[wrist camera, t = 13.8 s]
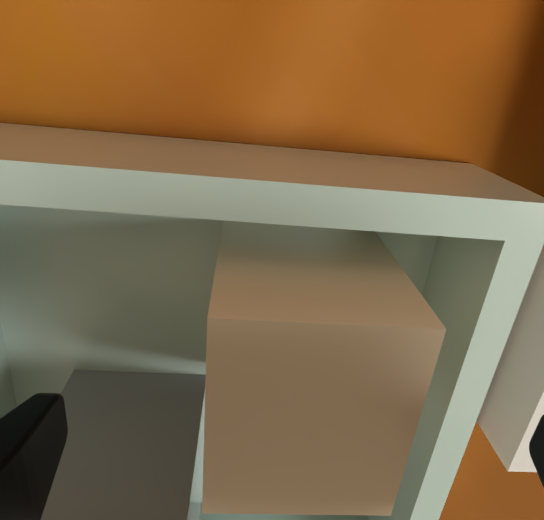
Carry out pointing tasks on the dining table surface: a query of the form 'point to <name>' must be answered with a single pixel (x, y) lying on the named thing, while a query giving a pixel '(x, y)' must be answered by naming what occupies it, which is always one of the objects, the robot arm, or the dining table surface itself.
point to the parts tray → (518, 382)
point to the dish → (203, 255)
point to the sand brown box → (312, 372)
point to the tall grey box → (130, 447)
